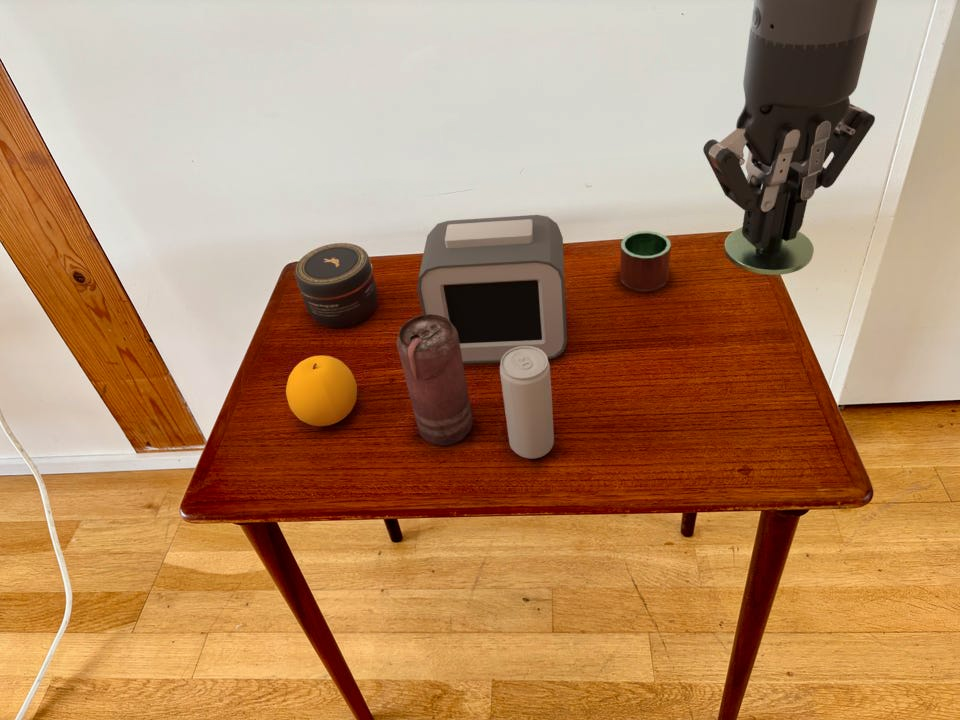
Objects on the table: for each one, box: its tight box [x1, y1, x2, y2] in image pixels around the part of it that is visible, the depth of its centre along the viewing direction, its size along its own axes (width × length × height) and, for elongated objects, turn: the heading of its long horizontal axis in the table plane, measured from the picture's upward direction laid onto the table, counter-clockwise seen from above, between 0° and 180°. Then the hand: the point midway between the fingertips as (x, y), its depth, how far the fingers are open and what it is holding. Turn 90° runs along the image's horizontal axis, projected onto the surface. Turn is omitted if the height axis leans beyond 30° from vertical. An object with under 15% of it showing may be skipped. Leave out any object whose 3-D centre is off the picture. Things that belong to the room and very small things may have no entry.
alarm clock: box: [416, 214, 568, 365], centre depth 85 cm, size 16×11×16 cm
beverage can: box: [499, 346, 555, 460], centre depth 72 cm, size 5×5×12 cm
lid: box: [723, 182, 814, 276], centre depth 58 cm, size 7×7×7 cm
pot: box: [619, 230, 672, 293], centre depth 93 cm, size 6×6×5 cm
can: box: [396, 314, 474, 447], centre depth 74 cm, size 6×6×14 cm
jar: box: [294, 242, 378, 329], centre depth 95 cm, size 10×10×8 cm
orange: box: [285, 355, 358, 427], centre depth 80 cm, size 8×8×8 cm
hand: (770, 238), depth 59 cm, fingers closed on lid
